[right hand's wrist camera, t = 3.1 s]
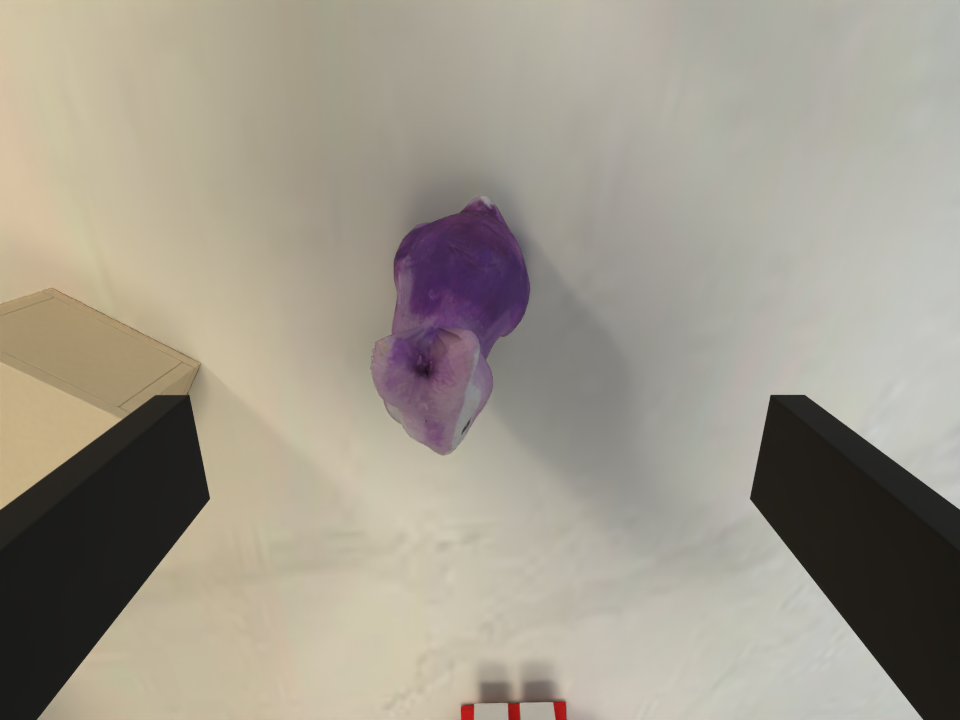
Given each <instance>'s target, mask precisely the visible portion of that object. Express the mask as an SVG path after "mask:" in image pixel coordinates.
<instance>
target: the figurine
mask: <svg viewBox="0 0 960 720" xmlns="http://www.w3.org/2000/svg"><path fill="white" fill-rule="evenodd" d="M394 281H395V285H396V288H397V302H396V308H395V313H394V319H393V326H392V335H390V336H387V337H385V338H383V339H381V340H379V341H377V342H376V343H375V349H373V356H371V360H372V362H371V371H372V377H373V380H374V384H375V387H376V389H377V391H378V394H379V395H380V397H381V398H382V399H383V400H384V404H385V407H386V409H387V411H388V413H389V414H390V415H391V417H392V418H393V419H394V420H395V421H397V422H398V423H400V424H402V426H403V428H404V429H405V431H406V432H407V434H408V435H409V436H410V437H412V438H413V439H415V440H416V441H418V442H420V443H422V444H424V445H426V446H428V447H429V448H430V449H432V450H433V451H434V452H436V453H438V454H440V455H447V454H450V453H451V452H453V451H454V450H455V449H456V448H457V446H458V445H459V444H460V442H461V441H462V440H463V439H464V437H465V436H466V434H467V432H468V430H469V428H470V427H471V425H472V424H473V422H474V420H475V418H476V417H477V416H478V414H479V413H480V412H481V410H482V409H483V407H484V406H485V404H486V402H487V400H488V398H489V396H490V394H491V391H492V388H493V377H492V373H491V370H490V367H489V365H488V364H487V362H486V358H487V356H488V354H489V352H490V350H491V348H492V346H493V344H494V343H495V341H496V340H497V339H498V338H499V337H504V336H507V335H508V334H509V333H511V332H512V331H513V330H514V329H515V328H516V326H517V325H518V324H519V322H520V321H521V319H522V317H523V316H524V314H525V310H526V307H527V304H528V300H529V293H530V283H529V278H528V274H527V270H526V266H525V262H524V258H523V255H522V253H521V250H520V247H519V245H518V243H517V241H516V239H515V238H514V236H513V235H512V233H511V232H510V231H509V229H508V227H507V225H506V223H505V221H504V219H503V217H502V215H501V213H500V212H499V210H498V208H497V207H496V205H495V203H494V202H493V201H491V200H490V199H489V198H488V197H486V196H478V197H476V198H474V199H472V200H471V201H470V202H469V204H468V205H467V206H466V207H465V208H464V209H463V210H462V211H461V212H460V213H458V214H454V215H451V216H447V217H445V218H442V219H439V220H437V221H434V222H432V223H422V224H419V225H417V226H416V227H415V228H414V229H413V230H412V231H411V232H410V233H409V234H408V235H406V236H405V238H404V239H403V240H402V242H401V244H400V246H399V248H398V251H397V253H396V256H395V259H394Z"/></svg>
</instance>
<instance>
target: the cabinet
mask: <svg viewBox="0 0 960 720" xmlns="http://www.w3.org/2000/svg"><path fill="white" fill-rule="evenodd" d="M199 366H200V363H199V362H197V361H195V360H193V359H191V358H189V357H187V356H185V355H183V354H181V353H179V352H177V351H175V350H173V349H171V348H169V347H167V346H165V345H163V344H161V343H159V342H157V341H155V340H153V339H151V338H149V337H147V336H145V335H143V334H141V333H139V332H137V331H135V330H133V329H131V328H129V327H127V326H125V325H123V324H121V323H119V322H117V321H115V320H113V319H111V318H109V317H107V316H105V315H103V314H102V313H100V312H98V311H96V310H94V309H92V308H90V307H88V306H86V305H84V304H82V303H80V302H78V301H76V300H74V299H72V298H70V297H68V296H66V295H64V294H62V293H60V292H58V291H56V290H54V289H52V288H49V289H46V290H43V291H41V292H37V293H34V294H31V295H28V296H25V297H21V298H18V299H15V300H12V301H9V302H6V303H2V304H0V510H1V509H2V508H3V507H5V506H6V505H7V504H9V503H10V502H11V501H13V500H14V499H15V498H17V497H18V496H20V495H21V494H22V493H24V492H25V491H26V490H28V489H29V488H30V487H32V486H33V485H34V484H36V483H37V482H38V481H40V480H41V479H42V478H44V477H45V476H47V475H48V474H49V473H51V472H52V471H53V470H55V469H56V468H57V467H59V466H60V465H61V464H63V463H64V462H65V461H67V460H68V459H69V458H71V457H72V456H74V455H75V454H76V453H78V452H79V451H80V450H82V449H83V448H84V447H86V446H87V445H88V444H90V443H91V442H92V441H94V440H95V439H97V438H98V437H99V436H101V435H102V434H103V433H105V432H106V431H107V430H109V429H110V428H111V427H113V426H114V425H115V424H117V423H118V422H119V421H121V420H122V419H124V418H125V417H126V416H128V415H129V414H130V413H132V412H133V411H134V410H136V409H137V408H138V407H140V406H141V405H142V404H144V403H145V402H146V401H148V400H149V399H151V398H152V397H153V396H155V395H187V393H188V391H189V389H190V386H191V384H192V382H193V380H194V377H195V375H196V373H197V371H198V368H199Z"/></svg>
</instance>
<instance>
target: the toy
mask: <svg viewBox="0 0 960 720" xmlns="http://www.w3.org/2000/svg"><path fill="white" fill-rule="evenodd" d="M461 720H566V704H565V702H531V703H520V704H508V703H477V704H474V706H461Z"/></svg>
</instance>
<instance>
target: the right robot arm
mask: <svg viewBox="0 0 960 720" xmlns="http://www.w3.org/2000/svg"><path fill="white" fill-rule="evenodd" d="M209 499H210V496H209V491H208V486H207V481H206V476H205V471H204V466H203V461H202V456H201V451H200V446H199V441H198V436H197V431H196V426H195V421H194V416H193V411H192V406H191V401H190V396H189V395H155V396H153V397H152V398H151V399H149V400H148V401H146V402H145V403H144V404H142V405H141V406H140V407H138V408H137V409H136V410H134V411H133V412H132V413H130V414H129V415H128V416H126V417H125V418H124V419H122V420H121V421H119V422H118V423H117V424H115V425H114V426H113V427H111V428H110V429H109V430H107V431H106V432H105V433H103V434H102V435H101V436H99V437H98V438H97V439H95V440H94V441H92V442H91V443H90V444H88V445H87V446H86V447H84V448H83V449H82V450H80V451H79V452H78V453H76V454H75V455H74V456H72V457H71V458H69V459H68V460H67V461H65V462H64V463H63V464H61V465H60V466H59V467H57V468H56V469H55V470H53V471H52V472H51V473H49V474H48V475H47V476H45V477H44V478H42V479H41V480H40V481H38V482H37V483H36V484H34V485H33V486H32V487H30V488H29V489H28V490H26V491H25V492H24V493H22V494H21V495H20V496H18V497H17V498H15V499H14V500H13V501H11V502H10V503H9V504H7V505H6V506H5V507H3V508H2V509H1V510H0V720H37V719H38V717H39V716H40V715H41V714H42V712H43V711H44V710H45V709H46V707H47V706H48V705H49V703H50V702H51V701H52V700H53V698H54V697H55V696H56V695H57V693H58V692H59V691H60V689H61V688H62V687H63V686H64V684H65V683H66V682H67V680H68V679H69V678H70V677H71V675H72V674H73V673H74V672H75V670H76V669H77V668H78V666H79V665H80V664H81V663H82V661H83V660H84V659H85V658H86V656H87V655H88V654H89V652H90V651H91V650H92V649H93V647H94V646H95V645H96V644H97V642H98V641H99V640H100V638H101V637H102V636H103V635H104V633H105V632H106V631H107V629H108V628H109V627H110V626H111V624H112V623H113V622H114V621H115V619H116V618H117V617H118V615H119V614H120V613H121V612H122V610H123V609H124V608H125V607H126V605H127V604H128V603H129V601H130V600H131V599H132V598H133V596H134V595H135V594H136V593H137V591H138V590H139V589H140V587H141V586H142V585H143V584H144V582H145V581H146V580H147V578H148V577H149V576H150V575H151V573H152V572H153V571H154V570H155V568H156V567H157V566H158V564H159V563H160V562H161V561H162V559H163V558H164V557H165V556H166V554H167V553H168V552H169V550H170V549H171V548H172V547H173V545H174V544H175V543H176V542H177V540H178V539H179V538H180V536H181V535H182V534H183V533H184V531H185V530H186V529H187V528H188V526H189V525H190V524H191V522H192V521H193V520H194V519H195V517H196V516H197V515H198V513H199V512H200V511H201V510H202V508H203V507H204V506H205V505H206V503H207V502H208V501H209ZM750 499H751V501H752V502H753V503H754V505H755V506H756V507H757V508H758V510H759V511H760V512H761V513H762V515H763V516H764V517H765V519H766V520H767V521H768V522H769V524H770V525H771V526H772V528H773V529H774V530H775V531H776V533H777V534H778V535H779V536H780V538H781V539H782V540H783V542H784V543H785V544H786V545H787V547H788V548H789V549H790V550H791V552H792V553H793V554H794V556H795V557H796V558H797V559H798V561H799V562H800V563H801V564H802V566H803V567H804V568H805V570H806V571H807V572H808V573H809V575H810V576H811V577H812V578H813V580H814V581H815V582H816V584H817V585H818V586H819V587H820V589H821V590H822V591H823V593H824V594H825V595H826V596H827V598H828V599H829V600H830V601H831V603H832V604H833V605H834V607H835V608H836V609H837V610H838V612H839V613H840V614H841V615H842V617H843V618H844V619H845V621H846V622H847V623H848V624H849V626H850V627H851V628H852V629H853V631H854V632H855V633H856V635H857V636H858V637H859V638H860V640H861V641H862V642H863V644H864V645H865V646H866V647H867V649H868V650H869V651H870V652H871V654H872V655H873V656H874V658H875V659H876V660H877V661H878V663H879V664H880V665H881V666H882V668H883V669H884V670H885V672H886V673H887V674H888V675H889V677H890V678H891V679H892V680H893V682H894V683H895V684H896V686H897V687H898V688H899V689H900V691H901V692H902V693H903V695H904V696H905V697H906V698H907V700H908V701H909V702H910V703H911V705H912V706H913V707H914V709H915V710H916V711H917V712H918V714H919V715H920V716H921V717H922V719H923V720H960V510H959V509H958V508H957V507H955V506H954V505H953V504H951V503H950V502H949V501H947V500H946V499H945V498H943V497H942V496H940V495H939V494H938V493H936V492H935V491H934V490H932V489H931V488H930V487H928V486H927V485H926V484H924V483H923V482H922V481H920V480H919V479H918V478H916V477H915V476H913V475H912V474H911V473H909V472H908V471H907V470H905V469H904V468H903V467H901V466H900V465H899V464H897V463H896V462H895V461H893V460H892V459H891V458H889V457H888V456H886V455H885V454H884V453H882V452H881V451H880V450H878V449H877V448H876V447H874V446H873V445H872V444H870V443H869V442H868V441H866V440H865V439H863V438H862V437H861V436H859V435H858V434H857V433H855V432H854V431H853V430H851V429H850V428H849V427H847V426H846V425H845V424H843V423H842V422H841V421H839V420H838V419H836V418H835V417H834V416H832V415H831V414H830V413H828V412H827V411H826V410H824V409H823V408H822V407H820V406H819V405H818V404H816V403H815V402H814V401H812V400H811V399H809V398H808V397H807V396H805V395H771V396H770V401H769V406H768V411H767V416H766V421H765V426H764V431H763V436H762V441H761V446H760V451H759V456H758V461H757V466H756V471H755V476H754V481H753V486H752V491H751V496H750Z"/></svg>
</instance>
